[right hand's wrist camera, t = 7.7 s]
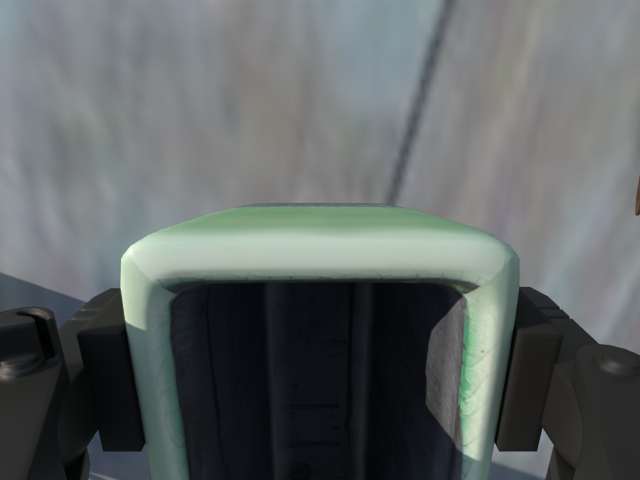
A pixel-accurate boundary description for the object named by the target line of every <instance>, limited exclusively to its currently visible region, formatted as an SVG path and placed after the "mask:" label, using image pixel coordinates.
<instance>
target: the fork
mask: <svg viewBox="0 0 640 480" xmlns="http://www.w3.org/2000/svg"><path fill="white" fill-rule="evenodd" d="M639 214H640V177H639V183H638V190H637V198H636V207H635V215H639Z"/></svg>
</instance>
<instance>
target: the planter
mask: <svg viewBox="0 0 640 480" xmlns="http://www.w3.org/2000/svg"><path fill="white" fill-rule="evenodd" d="M121 293H122V301H123V308H124V315H125V323H126V330H127V337H128V345H129V351H130V357H131V363H132V369H133V374H134V380H135V386H136V392H137V398H138V403H139V409H140V415H141V421H142V427H143V432H144V438H145V444H146V450H147V456H148V461H149V467H150V472H151V478H152V480H488V475H489V470H490V464H491V458H492V453H493V447H494V441H495V435H496V430H497V424H498V418H499V413H500V407H501V401H502V395H503V390H504V384H505V378H506V372H507V367H508V361H509V355H510V349H511V343H512V336H513V328H514V321H515V314H516V307H517V300H518V293H519V257H518V256H517V254H516V253H515V251H514V250H513V249H512V247H511V246H510V245H508V244H507V243H505V242H503V241H502V240H500V239H498V238H497V237H495V236H493V235H492V234H489V233H487V232H484V231H481V230H479V229H476V228H473V227H470V226H467V225H464V224H461V223H457V222H454V221H451V220H448V219H445V218H441V217H437V216H434V215H430V214H426V213H423V212H419V211H415V210H411V209H407V208H402V207H398V206H393V205H387V204H367V203H271V204H252V205H246V206H241V207H237V208H232V209H228V210H225V211H221V212H217V213H213V214H210V215H206V216H203V217H199V218H196V219H192V220H189V221H186V222H183V223H180V224H177V225H174V226H171V227H168V228H165V229H162V230H160V231H157V232H155V233H152V234H150V235H148V236H146V237H145V238H143V239H141V240H140V241H138V242H137V243H135V244H133V245H132V246H130V248H129V249H128V250H127V251H126V253H125V254H124V255H123V257H122V259H121Z"/></svg>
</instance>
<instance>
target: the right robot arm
mask: <svg viewBox="0 0 640 480" xmlns="http://www.w3.org/2000/svg"><path fill="white" fill-rule="evenodd" d="M542 427H543V429H544V431H545V432H546V434H547V435H548V437H549V438H550V440H551V441H552V443H553V444H554V446H553V450H552V454H551V458H550V462H549V467H548V471H547V475H546V479H545V480H640V355H638V354H636V353H633V352H631V351H629V350H626V349H623V348H619V347H615V346H611V345H603V344H598V343H597V342H596V341H595V340H594V339H593V338H592V337H591V336H590V335H589V334H588V333H587V332H586V331H585V330H583V329H582V328H581V327H580V326H579V325H578V324H577V323H576V322H575V321H574V320H573V319H570V318H569V316H568V315H567V314H566V313H565V312H564V311H563V310H562V309H560V307H559V306H558V305H557V304H555V303H554V302H553V301H552V300H551V299H550V298H549V297H548V296H546V295H544V294H542V293H540V292H538V291H537V290H535V289H533V288H531V287H519V293H518V300H517V307H516V314H515V321H514V328H513V336H512V343H511V349H510V355H509V361H508V367H507V372H506V378H505V384H504V390H503V395H502V401H501V407H500V413H499V418H498V424H497V430H496V435H495V441H494V442H495V444H496V446H497V448H498V450H499V451H537V449H538V445H539V440H540V436H541V432H542ZM97 430H98V431H99V435H100V439H101V444H102V448H103V451H142V449H143V446H144V444H145V438H144V432H143V427H142V421H141V415H140V409H139V403H138V398H137V392H136V386H135V380H134V374H133V369H132V363H131V357H130V351H129V345H128V337H127V330H126V323H125V315H124V308H123V301H122V293H121V288H111V289H109V290H107V291H105V292H103V293H101V294H99V295H97V296H95V297H93V298H92V299H91V300H90V301H89V302H88V303H87V304H86V305H85V306H84V307H82V308H81V311H78V312H77V313H76V314H75V315H74V316H73V317H72V318H71V320H69V321H68V322H66V323H65V324H64V325H63V326H62V327H61V328H60V329H59V330H58V329H57V325H56V321H55V317H54V313H53V312H52V311H50V310H49V309H47V308H42V307H24V308H17V309H12V310H8V311H3V312H0V480H88V478H89V471H90V460H89V454H88V450H87V446H88V444H89V442H90V441H91V439H92V438H93V436H94V435H95V433H96V432H97Z"/></svg>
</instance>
